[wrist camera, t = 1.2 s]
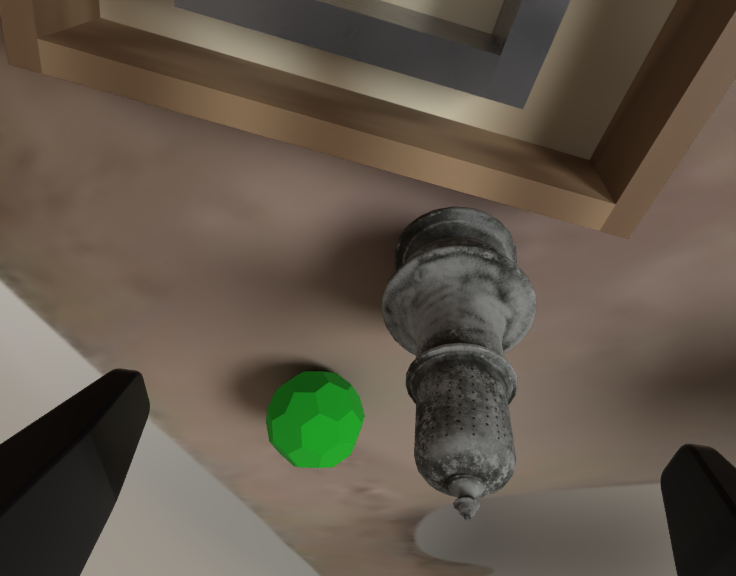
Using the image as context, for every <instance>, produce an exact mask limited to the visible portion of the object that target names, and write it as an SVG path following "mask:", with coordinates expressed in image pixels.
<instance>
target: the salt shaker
mask: <svg viewBox="0 0 736 576" xmlns="http://www.w3.org/2000/svg"><path fill="white" fill-rule="evenodd" d="M516 262H517V256H516V246H515V243H514V241H513V239H512V237H511V234H510V232H509V231H508V230H507V229H506V228H505V227H504V225H503V224H502V223H501V222H500V221H498V220H497V219H495V218H494V217H492V216H491V215H489V214H487V213H485V212H482V211H479V210H476V209H472V208H463V207H450V208H444V209H438V210H435V211H433V212H430V213H428V214H426V215H423V216H422V217H420V218H419V219H418V220H416V221H415V222H413V223H412V224H411V225H410V226H409V227H408V228H407V230H406V231H405V232H404V233H403V235H402V236H401V238H400V240H399V243H398V245H397V248H396V255H395V266H396V270H397V271H396V272H395V273H394V274H393V276H392V277H391V278H390V279H389V281H388V283H387V286H386V288H385V291H384V293H383V298H382V315H383V318H384V322H385V325H386V328H387V329H388V331H389V332H390V334H391V335H392V337H393V338H394V340H395V341H396V342H398V343H399V344H400V345H401V346H402V347H403V348H404V349H406V350H407V351H408V352H410V353H412V354H414V355H416V359H415V360H414V361H413V362H412V363H411V365H410V367H409V369H408V371H407V373H406V388H407V391H408V394H409V396H410V397H411V398H412V400H413V401H414V403H415V404H416V423H415V447H414V457H415V462H416V466H417V469H418V472H419V473H420V474H421V475H422V477H423V478H424V479H425V480H426V482H427V483H428V484H429V485H430V486H432V487H433V488H434V489H436V490H438V491H440V492H442V493H444V494H447V495H450V496H453V497H457V498H458V499H456V500H455V502H454V503H453V505H454V508H455V509H457V510H458V511H459V513H460V514H461V515H462V516H463V517H464V519H465V520H470V519H471V517H472V516H473V515H474V514H475V512H476V511H477V510H478V509H479V508H480V503H479V502H478V501H477V500H476V499H475V498H480V497H484V496H487V495H490V494H493V493H495V492H497V491H498V490H500V489H502V488H503V487H504V485H505V484H506V483H507V482H508V481H509V479H510V478H511V477H512V475H513V472H514V469H515V463H516V455H515V448H514V441H513V434H512V427H511V420H510V413H509V406H508V405H509V404H510V402H511V401H512V399H513V398H514V397H515V395H516V391H517V387H518V383H517V375H516V372H515V370H514V369H513V367H512V365H511V364H510V363H509V362H508V361H507V360H506V359H505V358H504V355H503V354H504V353H505V352H507V351H509V350H510V349H512V348H513V347H514V346H515V345H516V344H517V343H519V342H520V341H521V340H522V339H523V338H524V336H525V335H526V333H527V332H528V330H529V329H530V327H531V326H532V323H533V319H534V316H535V312H536V301H535V292H534V290H533V287H532V285H531V283H530V281H529V278H528V276H527V275H526V274H525V273H524V272H523V271H522V270H521V269H520V268H519V266H518V265H517V264H516Z"/></svg>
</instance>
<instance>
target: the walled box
mask: <svg viewBox="0 0 736 576" xmlns="http://www.w3.org/2000/svg"><path fill="white" fill-rule="evenodd" d="M381 1H384V2H387V3H391V4H394V5H397V6H401V7H404V8H407V9H410V10H414V11H417V12H420V13H424V14H427V15H430V16H434V17H437V18H440V19H443V20H447V21H450V22H453V23H457V24H460V25H463V26H466V27H470V28H473V29H476V30H480V31H483V32H486V33H490V34H492V32H493V29H494V26H495V23H496V21H497V18H498V15H499V12H500V10H501V7H502V4H503V1H504V0H381ZM0 17H1V23H2V28H3V34H4V40H5V45H6V51H7V57H8V63H9V64H10V65H14V66H17V67H21V68H24V69H28V70H31V71H35V72H38V73H42V74H45V75H49V76H52V77H56V78H60V79H63V80H67V81H70V82H74V83H77V84H81V85H84V86H88V87H91V88H95V89H98V90H102V91H106V92H109V93H113V94H116V95H120V96H123V97H127V98H130V99H134V100H137V101H141V102H145V103H148V104H152V105H155V106H159V107H162V108H166V109H169V110H173V111H176V112H180V113H183V114H187V115H191V116H194V117H198V118H201V119H205V120H208V121H212V122H215V123H219V124H222V125H226V126H230V127H233V128H237V129H240V130H244V131H247V132H251V133H254V134H258V135H261V136H265V137H268V138H272V139H276V140H279V141H283V142H286V143H290V144H293V145H297V146H300V147H304V148H307V149H311V150H314V151H318V152H322V153H325V154H329V155H332V156H336V157H339V158H343V159H346V160H350V161H353V162H357V163H361V164H364V165H368V166H371V167H375V168H378V169H382V170H385V171H389V172H392V173H396V174H399V175H403V176H407V177H410V178H414V179H417V180H421V181H424V182H428V183H431V184H435V185H438V186H442V187H446V188H449V189H453V190H456V191H460V192H463V193H467V194H470V195H474V196H477V197H481V198H484V199H488V200H492V201H495V202H499V203H502V204H506V205H509V206H513V207H516V208H520V209H523V210H527V211H531V212H534V213H538V214H541V215H545V216H548V217H552V218H555V219H559V220H562V221H566V222H569V223H573V224H577V225H580V226H584V227H587V228H591V229H594V230H598V231H601V232H605V233H608V234H612V235H615V236H619V237H623V238H626V239H629V237H630V236H631V234H632V233H633V231H634V230H635V228H636V227H637V225H638V224H639V222H640V221H641V219H642V218H643V216H644V215H645V213H646V212H647V210H648V209H649V207H650V206H651V204H652V203H653V201H654V200H655V198H656V197H657V195H658V194H659V192H660V191H661V189H662V188H663V186H664V185H665V183H666V182H667V180H668V179H669V177H670V176H671V174H672V173H673V171H674V170H675V168H676V167H677V165H678V164H679V162H680V161H681V159H682V158H683V156H684V155H685V153H686V152H687V150H688V149H689V147H690V146H691V144H692V143H693V141H694V140H695V138H696V137H697V135H698V134H699V132H700V131H701V129H702V128H703V126H704V125H705V123H706V122H707V120H708V119H709V117H710V116H711V114H712V113H713V111H714V110H715V108H716V107H717V105H718V104H719V102H720V101H721V99H722V98H723V96H724V95H725V93H726V92H727V90H728V89H729V87H730V86H731V84H732V83H733V81H734V80H735V78H736V0H571V1H570V3H569V5H568V8H567V10H566V12H565V15H564V17H563V19H562V21H561V24H560V26H559V28H558V31H557V33H556V35H555V37H554V40H553V42H552V44H551V47H550V49H549V51H548V53H547V56H546V58H545V60H544V63H543V65H542V67H541V70H540V72H539V74H538V76H537V79H536V81H535V83H534V86H533V88H532V90H531V92H530V95H529V97H528V99H527V102H526V104H525V106H524V108H523V109H520V108H516V107H513V106H510V105H506V104H503V103H499V102H496V101H493V100H489V99H486V98H482V97H479V96H476V95H472V94H469V93H466V92H462V91H459V90H455V89H452V88H449V87H445V86H442V85H438V84H435V83H432V82H428V81H425V80H421V79H418V78H415V77H411V76H408V75H405V74H401V73H398V72H394V71H391V70H388V69H384V68H381V67H377V66H374V65H371V64H367V63H364V62H361V61H357V60H354V59H350V58H347V57H344V56H340V55H337V54H333V53H330V52H327V51H323V50H320V49H316V48H313V47H310V46H306V45H303V44H300V43H296V42H293V41H289V40H286V39H283V38H279V37H276V36H272V35H269V34H266V33H262V32H259V31H255V30H252V29H249V28H245V27H242V26H239V25H235V24H232V23H228V22H225V21H222V20H218V19H215V18H211V17H208V16H205V15H201V14H198V13H194V12H191V11H188V10H184V9H181V8H178V7H174V0H0Z"/></svg>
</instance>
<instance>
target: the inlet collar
mask: <svg viewBox="0 0 736 576" xmlns="http://www.w3.org/2000/svg"><path fill="white" fill-rule="evenodd" d="M570 1H571V0H504V1H503V4H502V7H501V10H500V12H499V15H498V18H497V21H496V23H495V26H494V29H493V32H492V34H490V33H486V32H483V31H480V30H476V29H473V28H470V27H466V26H463V25H460V24H457V23H453V22H450V21H447V20H443V19H440V18H437V17H434V16H430V15H427V14H424V13H420V12H417V11H414V10H410V9H407V8H404V7H401V6H397V5H394V4H391V3H387V2H384V1H381V0H174V7H178V8H181V9H184V10H188V11H191V12H194V13H198V14H201V15H205V16H208V17H211V18H215V19H218V20H222V21H225V22H228V23H232V24H235V25H239V26H242V27H245V28H249V29H252V30H255V31H259V32H262V33H266V34H269V35H272V36H276V37H279V38H283V39H286V40H289V41H293V42H296V43H300V44H303V45H306V46H310V47H313V48H316V49H320V50H323V51H327V52H330V53H333V54H337V55H340V56H344V57H347V58H350V59H354V60H357V61H361V62H364V63H367V64H371V65H374V66H377V67H381V68H384V69H388V70H391V71H394V72H398V73H401V74H405V75H408V76H411V77H415V78H418V79H421V80H425V81H428V82H432V83H435V84H438V85H442V86H445V87H449V88H452V89H455V90H459V91H462V92H466V93H469V94H472V95H476V96H479V97H482V98H486V99H489V100H493V101H496V102H499V103H503V104H506V105H510V106H513V107H516V108H520V109H523V108H524V106H525V104H526V102H527V99H528V97H529V95H530V92H531V90H532V88H533V86H534V83H535V81H536V79H537V76H538V74H539V72H540V70H541V67H542V65H543V63H544V60H545V58H546V56H547V53H548V51H549V49H550V47H551V44H552V42H553V40H554V37H555V35H556V33H557V31H558V28H559V26H560V24H561V21H562V19H563V17H564V15H565V12H566V10H567V8H568V5H569V3H570Z"/></svg>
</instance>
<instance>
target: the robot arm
mask: <svg viewBox="0 0 736 576" xmlns="http://www.w3.org/2000/svg"><path fill="white" fill-rule="evenodd" d="M149 410H150V403H149V398H148V394H147V391H146V387H145V383H144V379H143V376H142V374H141V373H140V372H139V371H135V370H127V369H114V370H112V371H110V372H108V373H107V374H105V375H104V376H102V377H101V378H99V379H98V380H96V381H95V382H93V383H92V384H90V385H89V386H87V387H86V388H84V389H83V390H81V391H80V392H78V393H77V394H75V395H74V396H72V397H71V398H69V399H68V400H66V401H65V402H63V403H62V404H60V405H59V406H57V407H56V408H54V409H53V410H51V411H50V412H48V413H47V414H45V415H44V416H42V417H41V418H39V419H38V420H36V421H35V422H33V423H31V424H30V425H28V426H27V427H26V428H24V429H22V430H21V431H19V432H18V433H17V434H15V435H14V436H12V437H11V438H9V439H7V440H6V441H4V442H3V443H1V444H0V576H80V574H81V572H82V570H83V568H84V566H85V564H86V562H87V560H88V558H89V556H90V554H91V552H92V550H93V548H94V546H95V544H96V542H97V540H98V538H99V536H100V534H101V532H102V530H103V528H104V526H105V524H106V522H107V520H108V518H109V516H110V514H111V512H112V510H113V507H114V505H115V503H116V501H117V499H118V496H119V493H120V491H121V489H122V486H123V483H124V481H125V478H126V475H127V472H128V470H129V467H130V464H131V462H132V459H133V456H134V453H135V451H136V448H137V445H138V443H139V440H140V437H141V435H142V432H143V429H144V426H145V424H146V421H147V418H148V415H149ZM661 491H662V496H663V502H664V507H665V512H666V518H667V523H668V529H669V534H670V539H671V545H672V550H673V556H674V561H675V566H676V571H677V575H678V576H736V468H735V467H734V466H733V465H732V464H731V463H730V462H729V461H727V460H726V459H725V458H724V457H723V456H722V455H721V454H720V453H719V452H718V451H716V450H715V449H713V448H711V447H708V446H702V445H695V444H685V445H683V446H681V447H680V448H679V450H678V451H677V452H676V454H675V455H674V456H673V458H672V459H671V461H670V462H669V463H668V465H667V466H666V467H665V469H664V470H663V472H662V475H661Z"/></svg>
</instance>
